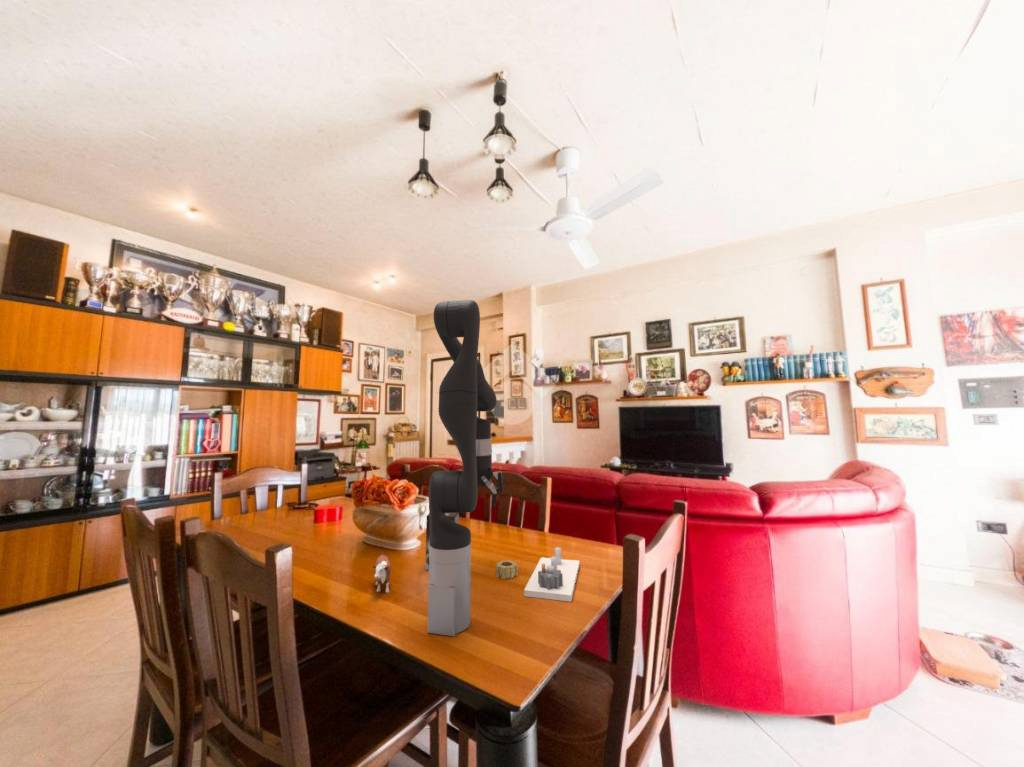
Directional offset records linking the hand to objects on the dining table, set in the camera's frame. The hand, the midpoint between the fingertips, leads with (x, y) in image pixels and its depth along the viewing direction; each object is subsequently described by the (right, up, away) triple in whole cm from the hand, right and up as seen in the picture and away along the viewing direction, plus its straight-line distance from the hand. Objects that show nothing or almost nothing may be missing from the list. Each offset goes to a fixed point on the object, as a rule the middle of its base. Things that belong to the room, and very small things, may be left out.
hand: (480, 505), depth 117 cm
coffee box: (-12, -19, -1) cm, 22 cm away
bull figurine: (-25, -18, -16) cm, 34 cm away
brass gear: (+8, -18, -7) cm, 21 cm away
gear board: (+22, -18, -11) cm, 30 cm away
